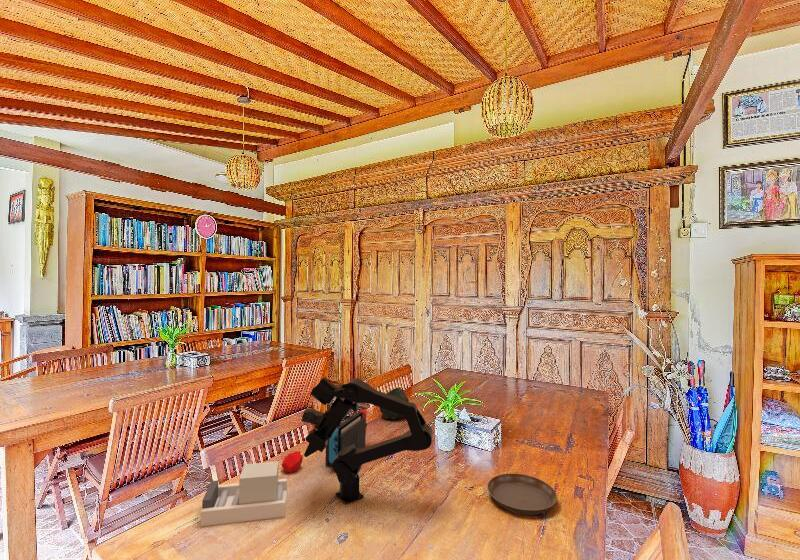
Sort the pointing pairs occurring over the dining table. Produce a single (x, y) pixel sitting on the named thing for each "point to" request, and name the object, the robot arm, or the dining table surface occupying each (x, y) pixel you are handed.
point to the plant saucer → (522, 493)
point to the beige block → (258, 483)
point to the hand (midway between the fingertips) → (305, 456)
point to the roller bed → (243, 506)
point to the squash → (398, 394)
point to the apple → (292, 462)
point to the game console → (347, 436)
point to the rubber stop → (210, 495)
